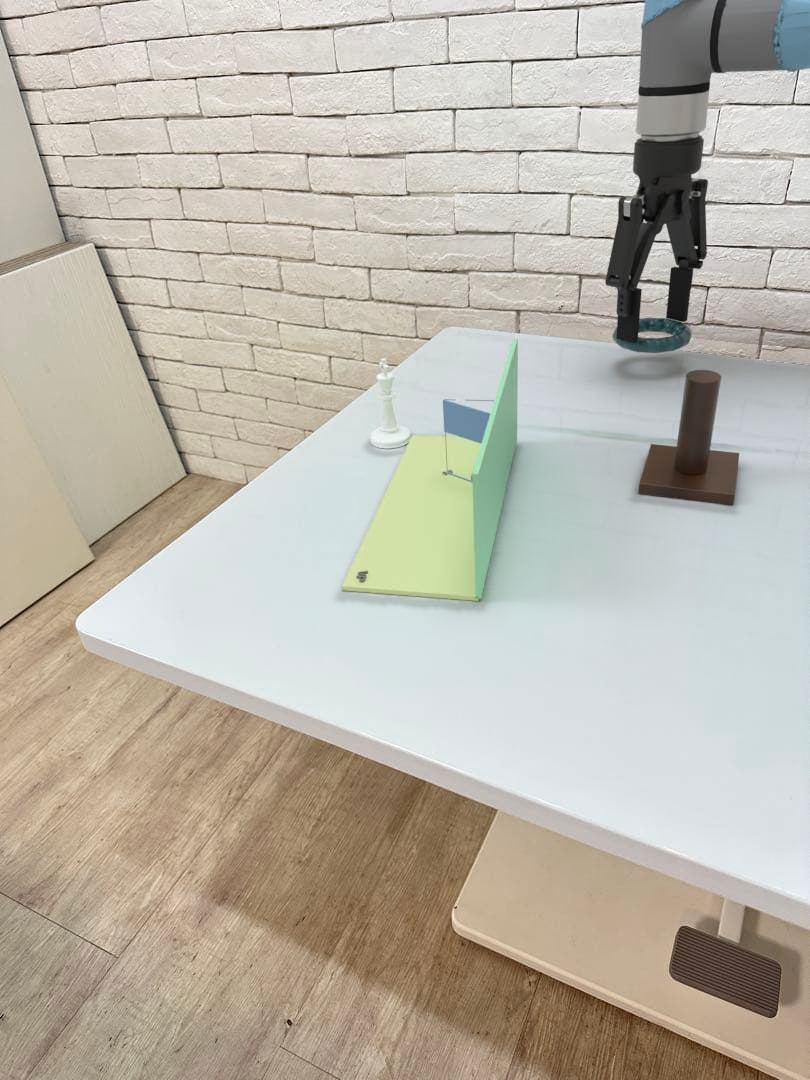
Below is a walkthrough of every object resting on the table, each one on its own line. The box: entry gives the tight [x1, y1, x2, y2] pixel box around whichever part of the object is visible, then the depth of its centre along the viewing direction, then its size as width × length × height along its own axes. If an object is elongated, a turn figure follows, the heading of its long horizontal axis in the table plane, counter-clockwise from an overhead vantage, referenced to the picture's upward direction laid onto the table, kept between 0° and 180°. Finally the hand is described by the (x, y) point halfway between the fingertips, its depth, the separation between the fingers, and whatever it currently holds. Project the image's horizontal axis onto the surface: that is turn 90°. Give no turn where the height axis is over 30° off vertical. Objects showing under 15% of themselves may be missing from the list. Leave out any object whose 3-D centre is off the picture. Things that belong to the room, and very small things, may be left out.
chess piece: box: [369, 357, 412, 450], centre depth 92 cm, size 5×5×10 cm
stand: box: [637, 369, 740, 506], centre depth 79 cm, size 9×9×11 cm
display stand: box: [341, 337, 519, 602], centre depth 78 cm, size 30×12×12 cm, turn 167°
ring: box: [612, 317, 693, 354], centre depth 103 cm, size 10×10×2 cm
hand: (652, 329), depth 102 cm, fingers closed on ring, 9 cm apart
